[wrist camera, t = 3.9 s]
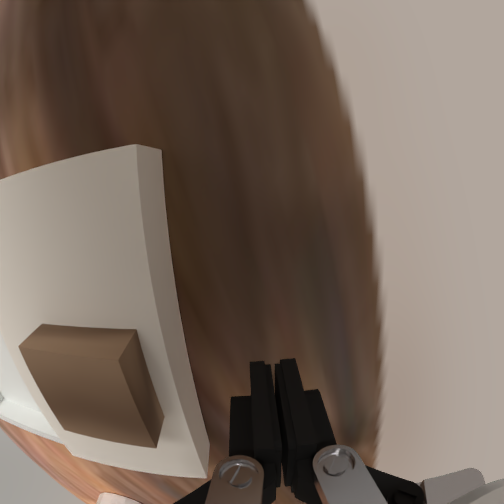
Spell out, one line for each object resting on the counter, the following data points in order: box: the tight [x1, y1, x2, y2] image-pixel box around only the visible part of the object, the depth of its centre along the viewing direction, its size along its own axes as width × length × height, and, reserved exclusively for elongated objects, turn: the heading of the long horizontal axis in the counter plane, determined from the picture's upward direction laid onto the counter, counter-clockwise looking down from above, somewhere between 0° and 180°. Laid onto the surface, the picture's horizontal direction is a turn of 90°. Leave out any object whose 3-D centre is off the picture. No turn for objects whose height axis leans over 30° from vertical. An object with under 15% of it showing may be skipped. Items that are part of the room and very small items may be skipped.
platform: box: [0, 144, 210, 478], centre depth 12 cm, size 18×10×3 cm, turn 3°
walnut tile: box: [18, 324, 165, 448], centre depth 9 cm, size 5×5×2 cm
